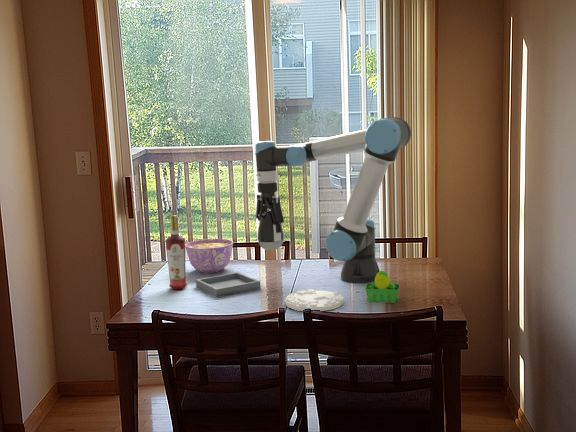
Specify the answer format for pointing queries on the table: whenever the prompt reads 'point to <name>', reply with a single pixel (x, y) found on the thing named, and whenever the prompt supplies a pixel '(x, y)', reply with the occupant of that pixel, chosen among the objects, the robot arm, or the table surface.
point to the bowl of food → (209, 254)
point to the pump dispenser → (268, 232)
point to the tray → (228, 284)
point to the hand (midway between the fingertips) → (270, 239)
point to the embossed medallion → (314, 300)
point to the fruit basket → (382, 289)
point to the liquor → (176, 257)
